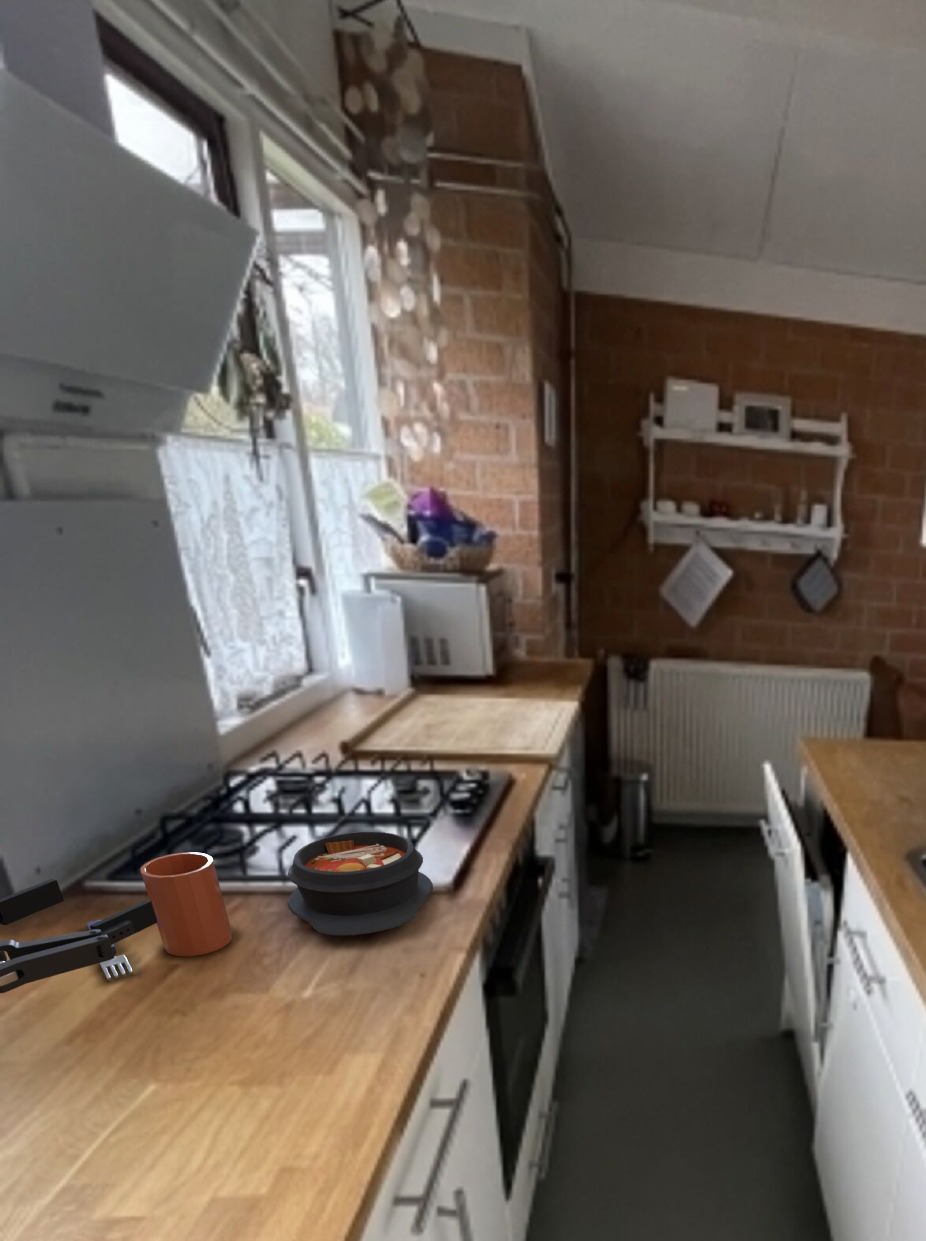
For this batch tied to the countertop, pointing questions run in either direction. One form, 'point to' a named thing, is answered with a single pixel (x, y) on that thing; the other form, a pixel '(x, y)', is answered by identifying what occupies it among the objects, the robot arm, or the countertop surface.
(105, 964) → the fork
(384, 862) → the casserole
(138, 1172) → the countertop surface
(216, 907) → the tumbler
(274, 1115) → the countertop surface
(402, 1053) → the countertop surface
